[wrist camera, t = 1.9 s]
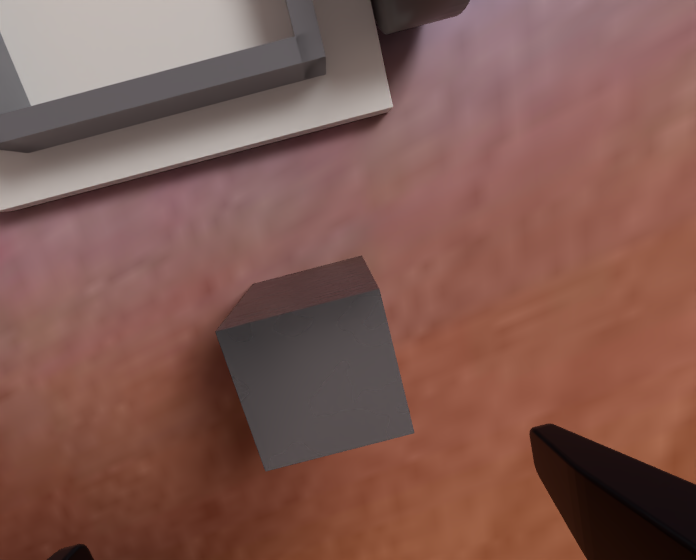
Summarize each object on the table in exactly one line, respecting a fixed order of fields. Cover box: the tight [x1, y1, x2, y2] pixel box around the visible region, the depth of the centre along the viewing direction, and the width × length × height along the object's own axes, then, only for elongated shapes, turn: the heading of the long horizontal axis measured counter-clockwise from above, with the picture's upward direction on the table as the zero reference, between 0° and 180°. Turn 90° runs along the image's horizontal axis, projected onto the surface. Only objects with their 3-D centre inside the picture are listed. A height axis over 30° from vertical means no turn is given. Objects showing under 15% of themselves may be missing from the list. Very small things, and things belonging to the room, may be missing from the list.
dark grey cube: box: [215, 256, 414, 471], centre depth 15 cm, size 5×5×6 cm
